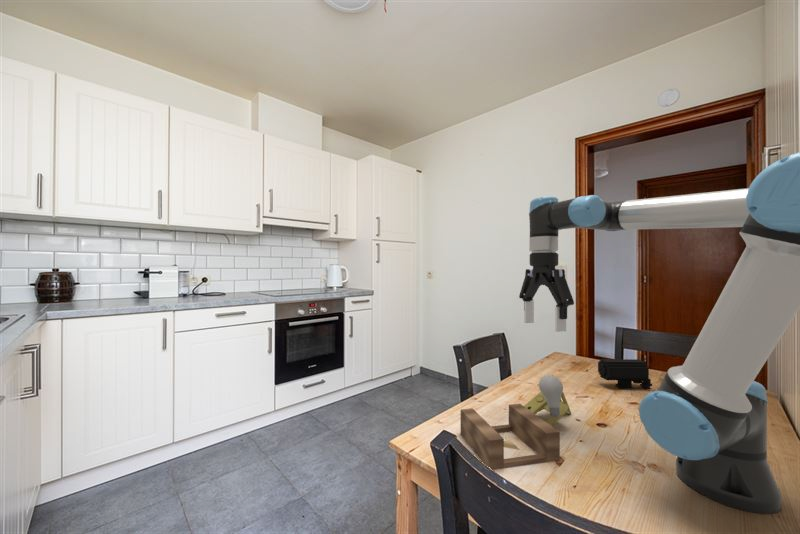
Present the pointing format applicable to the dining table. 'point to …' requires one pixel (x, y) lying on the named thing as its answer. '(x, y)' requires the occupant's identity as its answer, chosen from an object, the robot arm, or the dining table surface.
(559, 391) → the lightbulb
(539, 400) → the bracket
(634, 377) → the security camera
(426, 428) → the dining table surface
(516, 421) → the brown open rectangular frame
